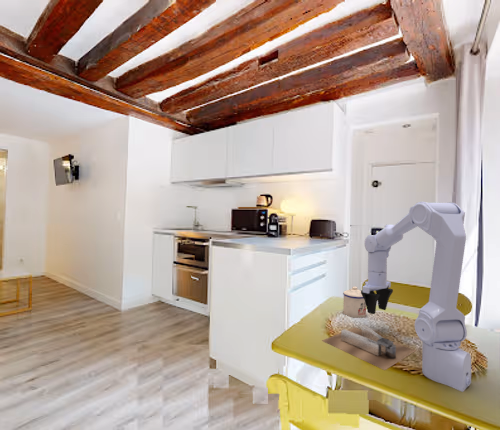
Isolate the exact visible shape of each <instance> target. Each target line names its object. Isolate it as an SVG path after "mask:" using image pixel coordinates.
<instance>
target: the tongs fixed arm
mask: <svg viewBox="0 0 500 430" xmlns="http://www.w3.org/2000/svg"><path fill="white" fill-rule="evenodd" d="M348 330H349V329H345V328H344V329H342V330H341V332H340V333H341V340H343V341H345V342H347V343H350V344H352V345H354V346H356V347H359V348H361V349H363V350H366V351H368V352H370V353H373V354H375V355H377V356H379V355H381V345H383V346H386V347H390V346H392V345H393V342H394V341H392V340H390V339H387V338H384V337H383V338H381V339H379V340H377V342H376V341H373V340H371V339H368V338H365V337H363V336H360V335H358V334H355V333H353V332H350V331H348Z"/></svg>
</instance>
